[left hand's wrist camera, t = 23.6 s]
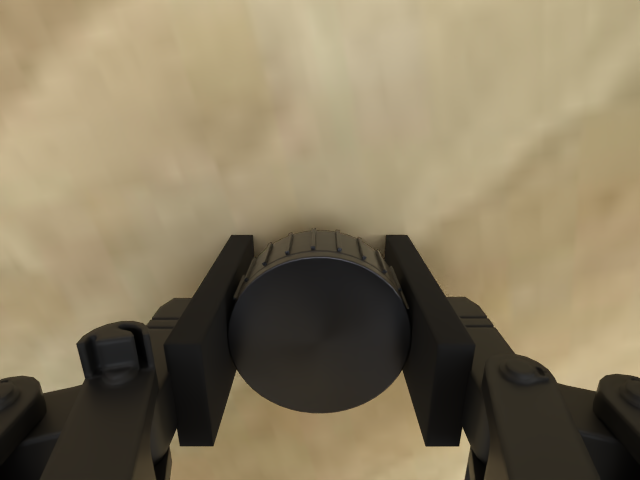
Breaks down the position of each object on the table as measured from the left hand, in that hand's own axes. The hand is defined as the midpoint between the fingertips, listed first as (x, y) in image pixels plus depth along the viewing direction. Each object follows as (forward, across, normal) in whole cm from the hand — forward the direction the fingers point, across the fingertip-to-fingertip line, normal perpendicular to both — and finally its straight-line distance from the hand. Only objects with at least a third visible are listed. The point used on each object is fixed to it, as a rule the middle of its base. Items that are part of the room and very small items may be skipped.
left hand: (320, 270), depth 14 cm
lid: (-4, 0, 0) cm, 4 cm away
